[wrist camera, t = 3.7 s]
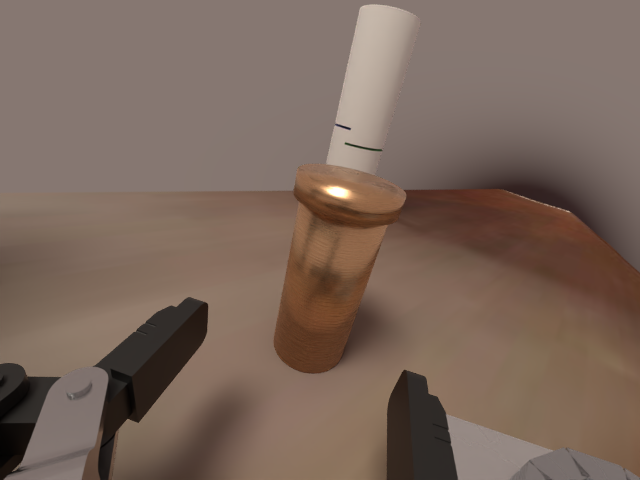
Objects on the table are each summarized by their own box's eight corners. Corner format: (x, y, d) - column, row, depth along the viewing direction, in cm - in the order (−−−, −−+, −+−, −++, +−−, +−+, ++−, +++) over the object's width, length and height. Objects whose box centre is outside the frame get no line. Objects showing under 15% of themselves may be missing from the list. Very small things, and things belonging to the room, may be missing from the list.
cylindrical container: (335, 203, 48) (380, 25, 37) (369, 220, 44) (431, 28, 33) (306, 209, 43) (347, 4, 32) (342, 229, 39) (403, 4, 28)
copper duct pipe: (253, 361, 18) (281, 177, 13) (283, 305, 23) (312, 158, 18) (341, 391, 17) (410, 213, 12) (352, 327, 22) (403, 182, 17)
